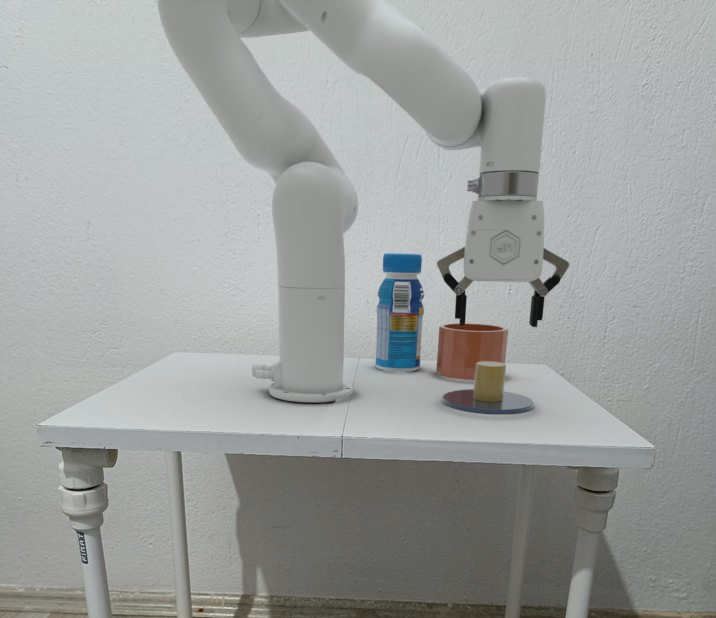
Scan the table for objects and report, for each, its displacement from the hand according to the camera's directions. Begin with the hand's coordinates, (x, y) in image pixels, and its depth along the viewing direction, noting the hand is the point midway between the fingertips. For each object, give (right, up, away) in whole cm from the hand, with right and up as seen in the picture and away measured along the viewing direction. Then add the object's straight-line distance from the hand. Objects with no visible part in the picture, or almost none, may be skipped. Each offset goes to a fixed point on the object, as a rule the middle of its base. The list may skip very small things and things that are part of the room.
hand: (497, 325), depth 91 cm
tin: (0, -3, +25) cm, 26 cm away
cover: (-1, -10, +3) cm, 11 cm away
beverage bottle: (-12, -1, +31) cm, 33 cm away
